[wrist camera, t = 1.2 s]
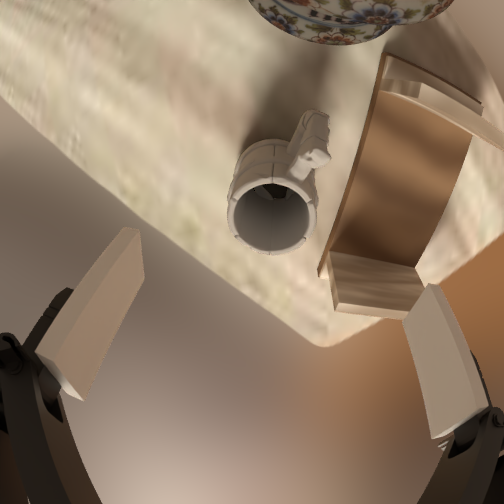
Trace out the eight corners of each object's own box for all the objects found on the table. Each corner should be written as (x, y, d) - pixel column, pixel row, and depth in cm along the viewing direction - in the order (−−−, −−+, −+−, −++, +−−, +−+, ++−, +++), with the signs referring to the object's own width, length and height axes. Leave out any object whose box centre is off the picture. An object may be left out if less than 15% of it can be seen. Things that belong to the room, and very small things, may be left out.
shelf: (381, 53, 18) (429, 47, 11) (473, 100, 19) (530, 121, 11) (317, 269, 34) (324, 329, 26) (397, 283, 34) (418, 338, 26)
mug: (224, 186, 29) (194, 254, 19) (277, 85, 22) (275, 91, 12) (288, 217, 30) (290, 296, 20) (347, 125, 23) (393, 163, 14)
